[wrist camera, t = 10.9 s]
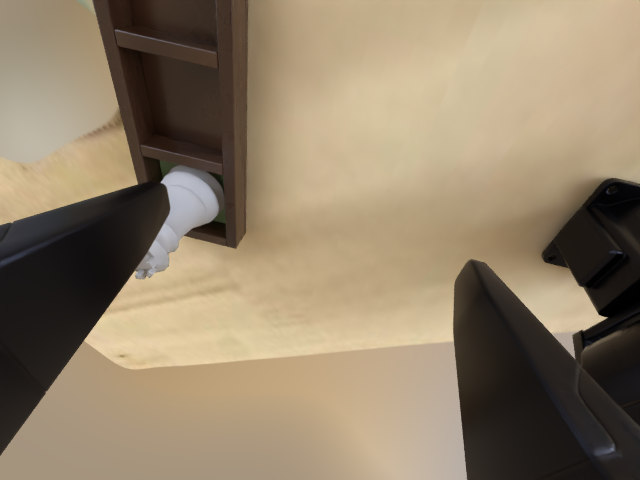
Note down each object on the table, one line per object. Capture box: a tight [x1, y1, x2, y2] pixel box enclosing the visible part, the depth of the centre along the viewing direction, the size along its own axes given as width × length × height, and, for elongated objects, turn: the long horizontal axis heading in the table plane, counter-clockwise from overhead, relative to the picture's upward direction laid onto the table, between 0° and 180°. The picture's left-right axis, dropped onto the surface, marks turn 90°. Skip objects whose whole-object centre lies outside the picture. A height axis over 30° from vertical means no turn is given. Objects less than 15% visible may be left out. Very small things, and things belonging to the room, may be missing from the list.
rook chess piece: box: [135, 165, 225, 279], centre depth 21 cm, size 4×4×8 cm
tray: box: [93, 0, 248, 249], centre depth 19 cm, size 7×20×2 cm, turn 171°
